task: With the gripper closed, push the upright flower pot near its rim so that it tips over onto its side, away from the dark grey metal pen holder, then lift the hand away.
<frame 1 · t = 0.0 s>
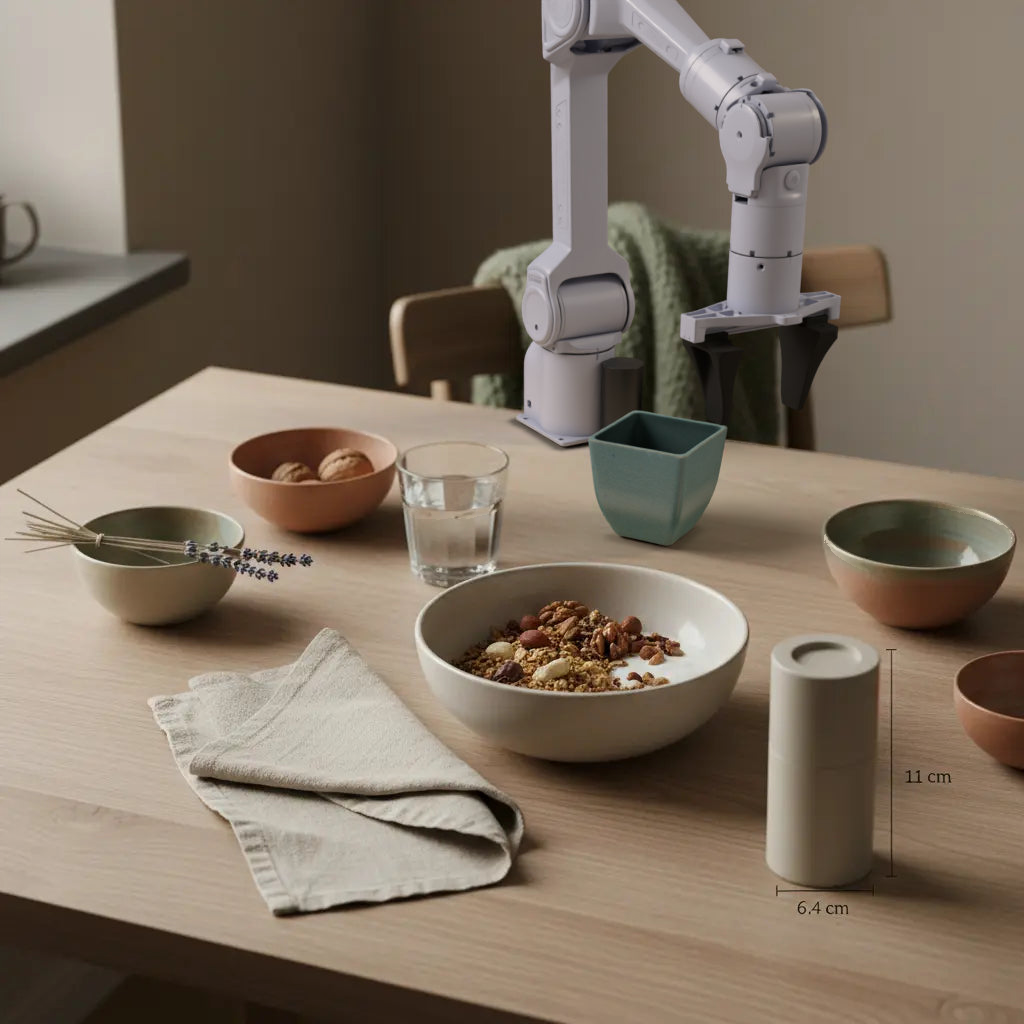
hand: (755, 414, 124), 10 cm above the table, tool pointing down, fingers open, 7 cm apart
pen holder: (620, 441, 147), on the table
flower pot: (654, 534, 127), on the table
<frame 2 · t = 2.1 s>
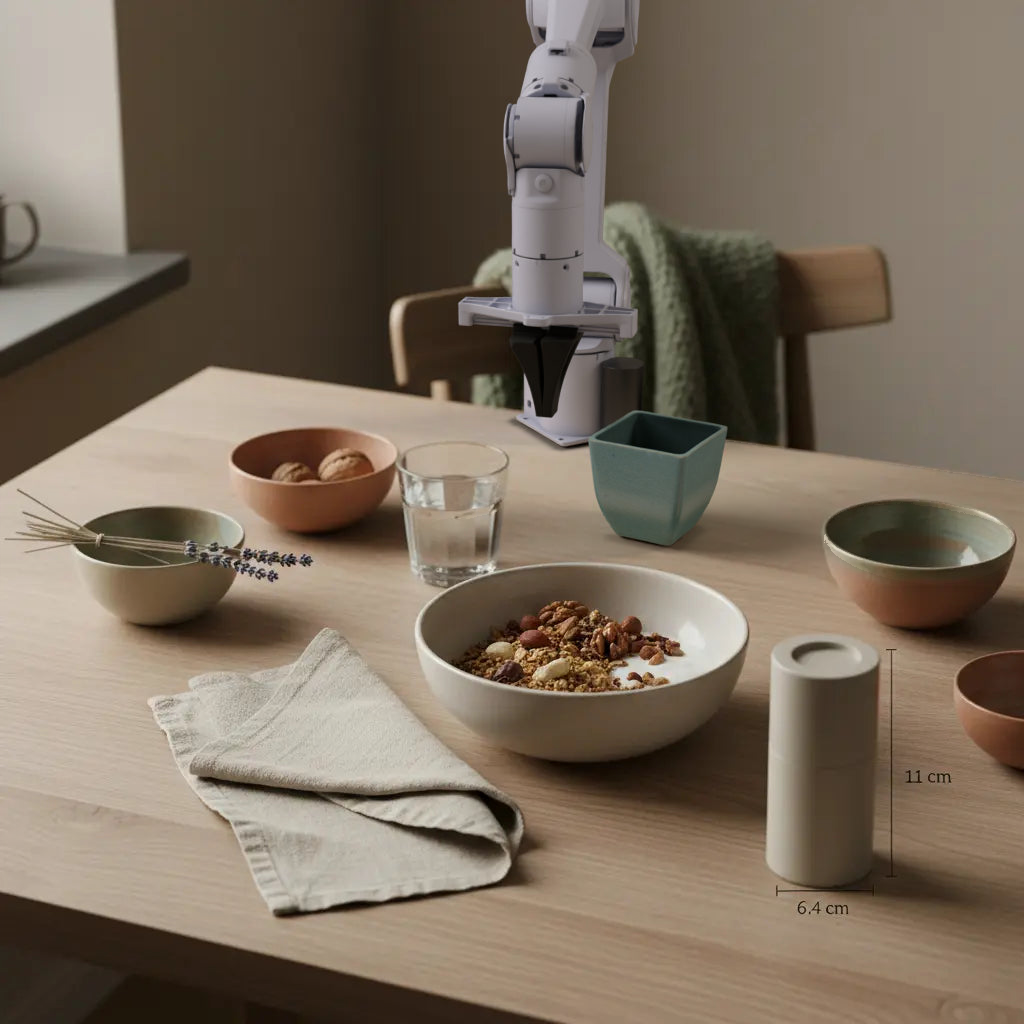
hand: (546, 413, 126), 10 cm above the table, tool pointing down, fingers closed
nothing on the table moved.
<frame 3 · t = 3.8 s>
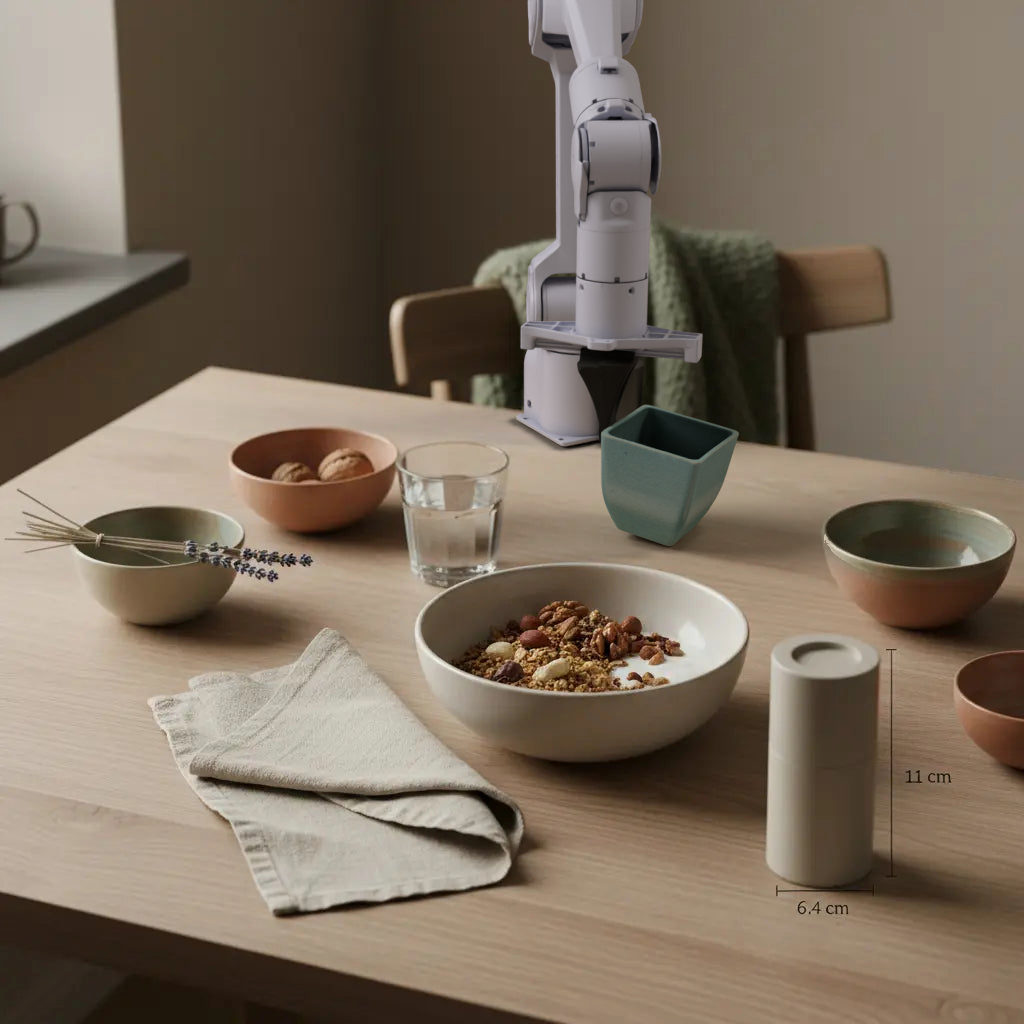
hand: (607, 438, 124), 8 cm above the table, tool pointing down, fingers closed, pressing on flower pot
flower pot: (655, 531, 127), on the table, touching gripper
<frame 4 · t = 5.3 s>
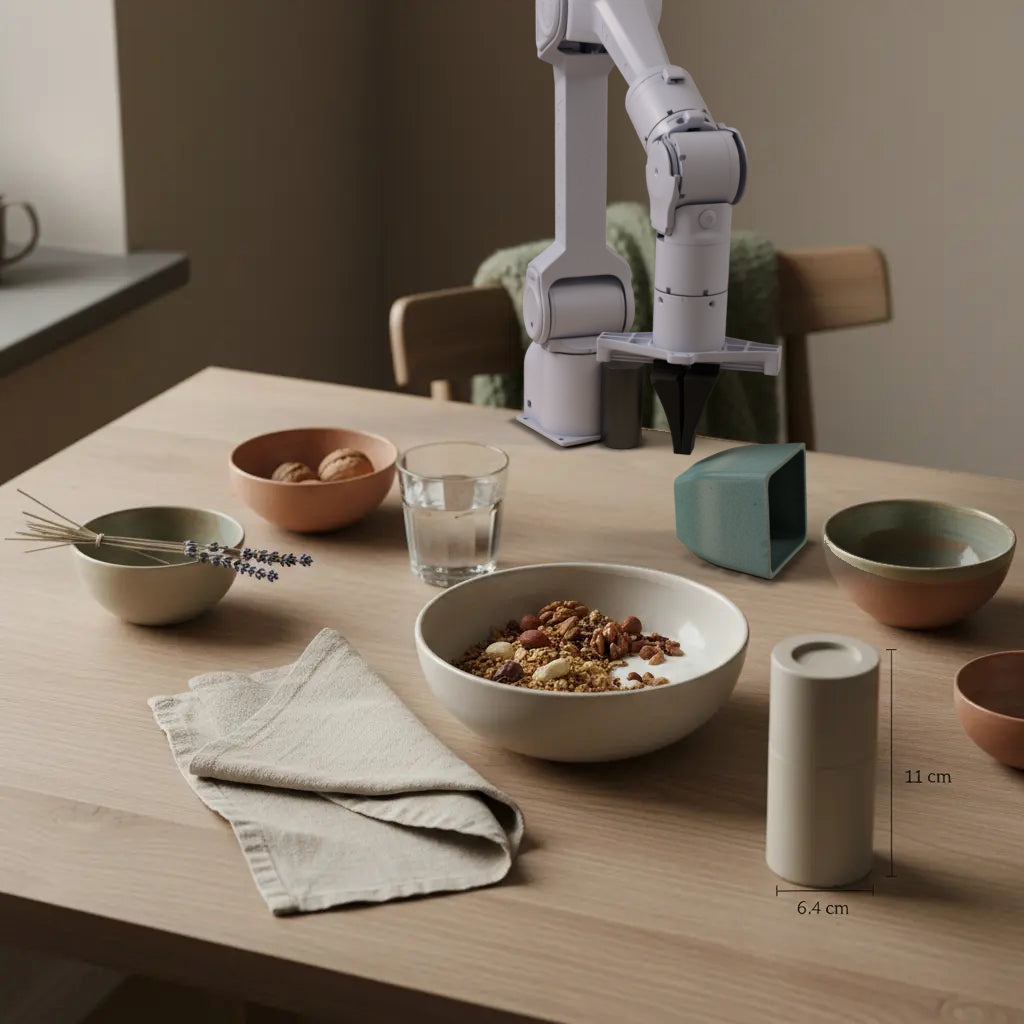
hand: (683, 450, 123), 8 cm above the table, tool pointing down, fingers closed
flower pot: (683, 498, 124), point 4 cm above the table
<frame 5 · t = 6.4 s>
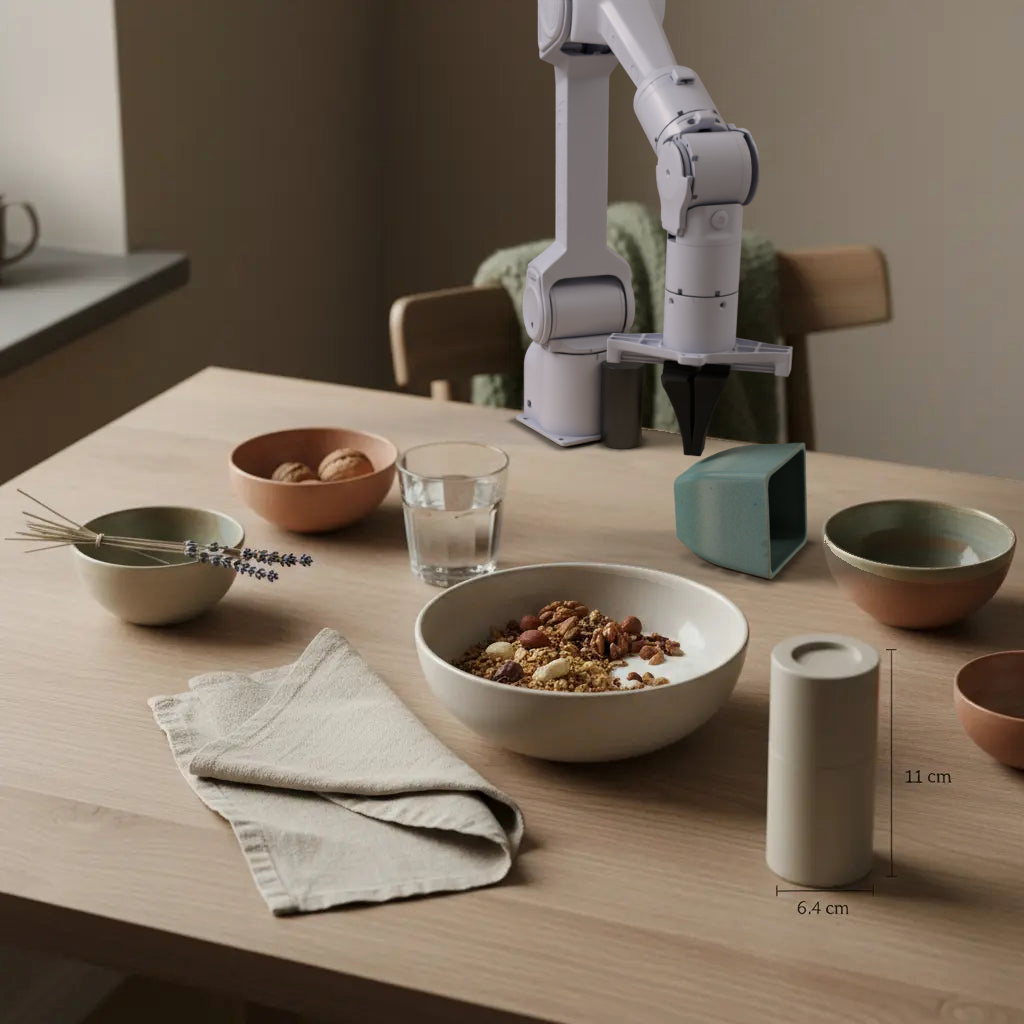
hand: (694, 451, 123), 8 cm above the table, tool pointing down, fingers closed
nothing on the table moved.
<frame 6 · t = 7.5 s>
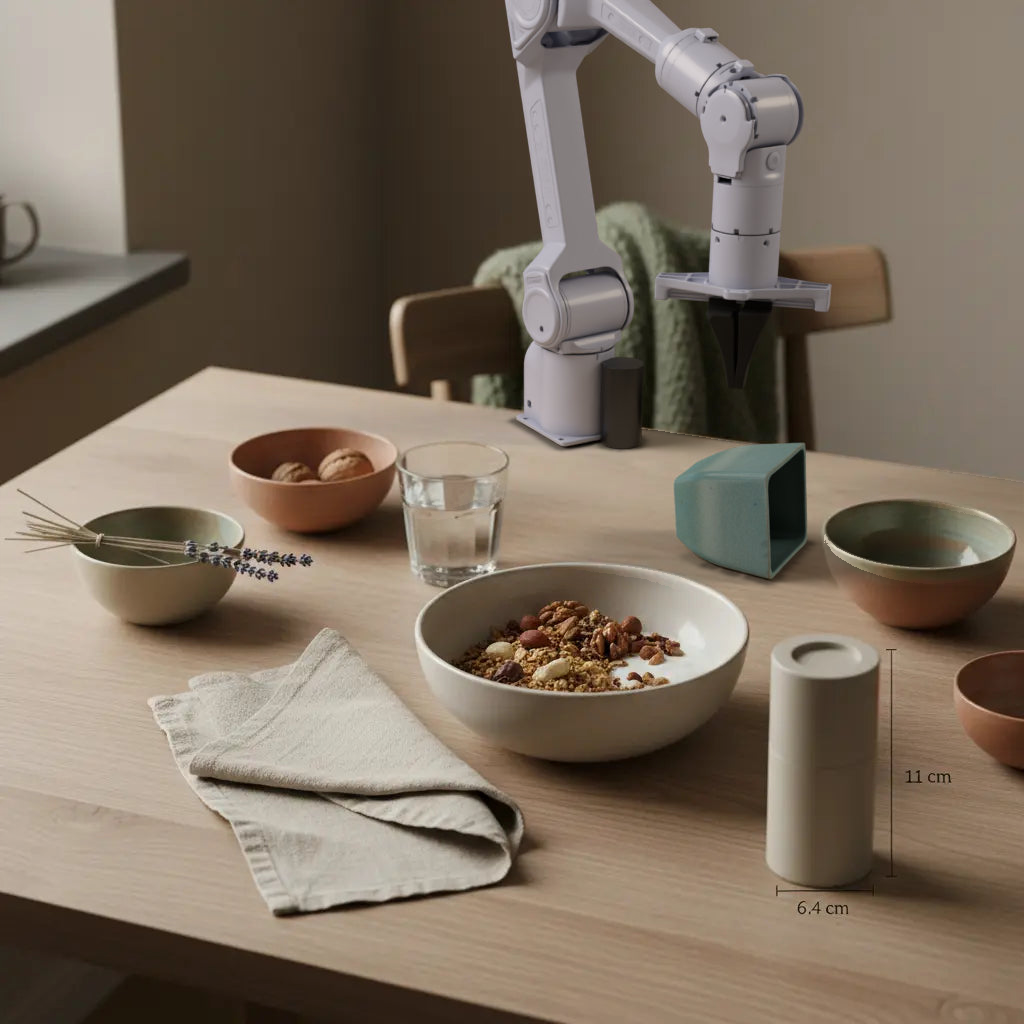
hand: (736, 385, 130), 10 cm above the table, tool pointing down, fingers closed
nothing on the table moved.
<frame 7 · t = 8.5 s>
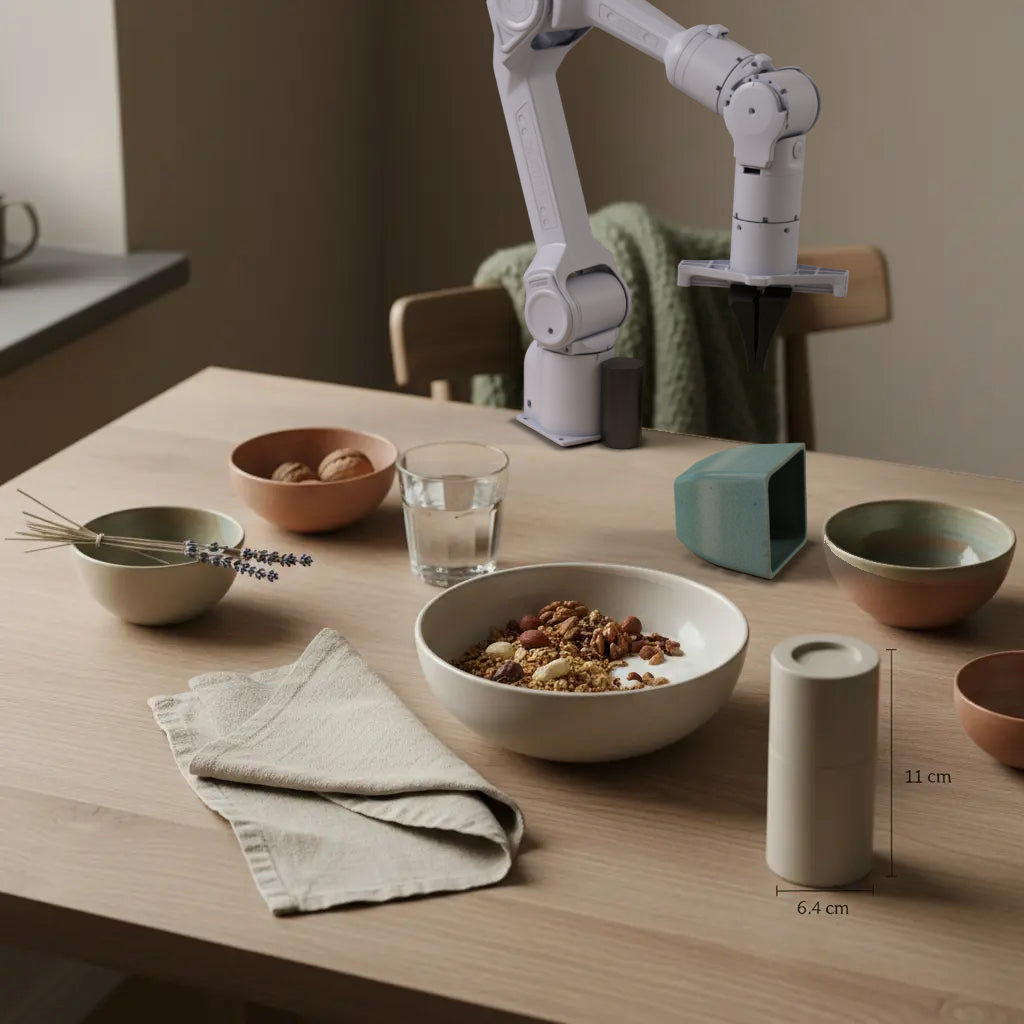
hand: (756, 369, 134), 10 cm above the table, tool pointing down, fingers closed
nothing on the table moved.
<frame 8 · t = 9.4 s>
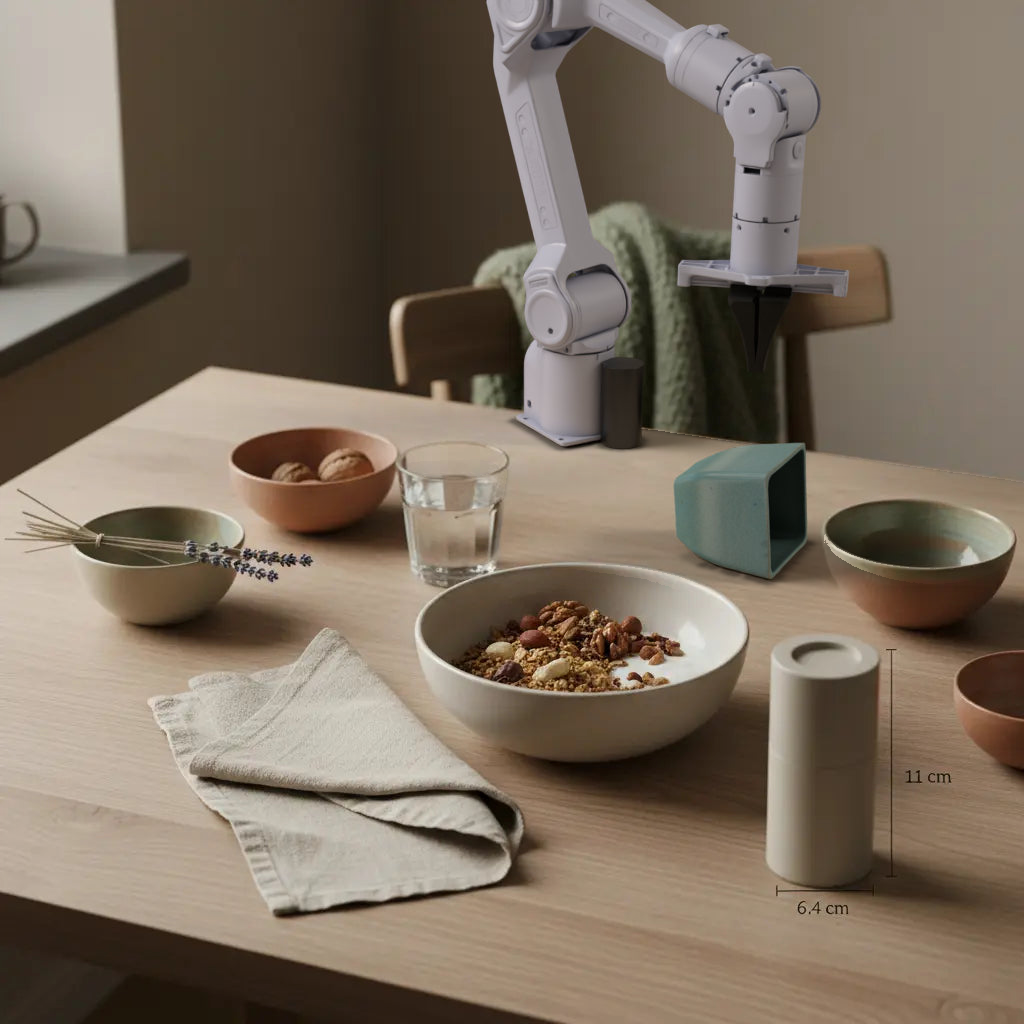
hand: (756, 369, 134), 10 cm above the table, tool pointing down, fingers closed
nothing on the table moved.
at the end: flower pot tilted 85°; flower pot inside the target area on the table beside the pen holder (1.9 cm from its centre), point 3.6 cm above the table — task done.
